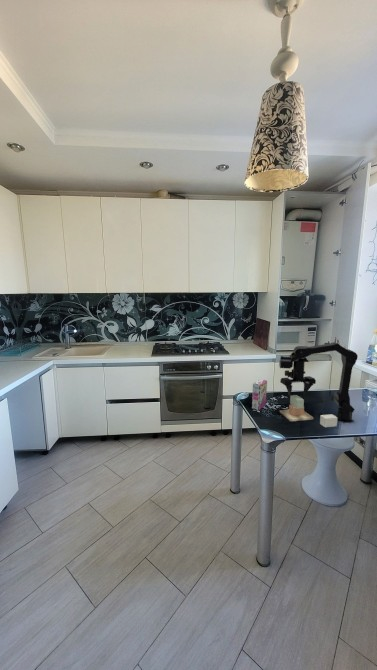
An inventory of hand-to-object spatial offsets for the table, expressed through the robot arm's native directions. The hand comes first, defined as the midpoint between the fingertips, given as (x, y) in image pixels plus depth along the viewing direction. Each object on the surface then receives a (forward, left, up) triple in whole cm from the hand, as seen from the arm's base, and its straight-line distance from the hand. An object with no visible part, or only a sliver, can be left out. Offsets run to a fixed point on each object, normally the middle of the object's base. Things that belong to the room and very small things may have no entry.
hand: (297, 395), depth 148 cm
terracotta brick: (0, 0, -12) cm, 12 cm away
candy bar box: (+16, -15, -13) cm, 25 cm away
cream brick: (-11, +13, -13) cm, 21 cm away
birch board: (0, 0, -12) cm, 12 cm away
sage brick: (0, 0, -6) cm, 7 cm away
